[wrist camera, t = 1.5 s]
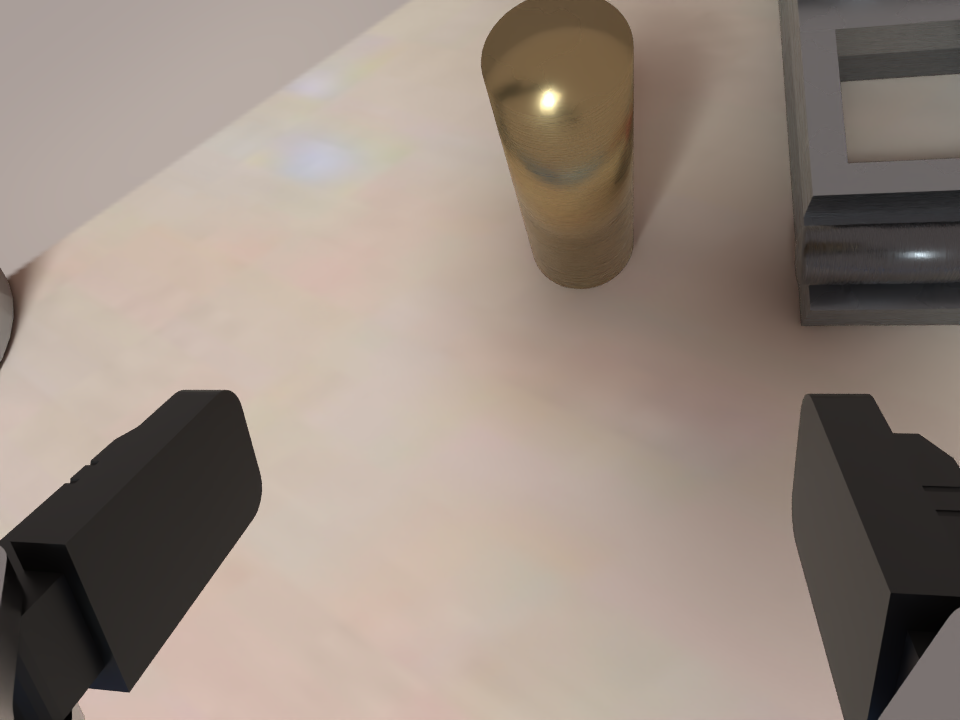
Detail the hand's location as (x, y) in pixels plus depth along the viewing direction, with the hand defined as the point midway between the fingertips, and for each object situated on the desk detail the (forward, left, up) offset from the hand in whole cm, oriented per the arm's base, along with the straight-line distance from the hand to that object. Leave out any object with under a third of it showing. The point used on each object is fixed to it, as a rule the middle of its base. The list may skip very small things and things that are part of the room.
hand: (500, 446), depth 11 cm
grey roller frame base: (+12, +16, -17) cm, 26 cm away
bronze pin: (0, +12, -17) cm, 21 cm away
